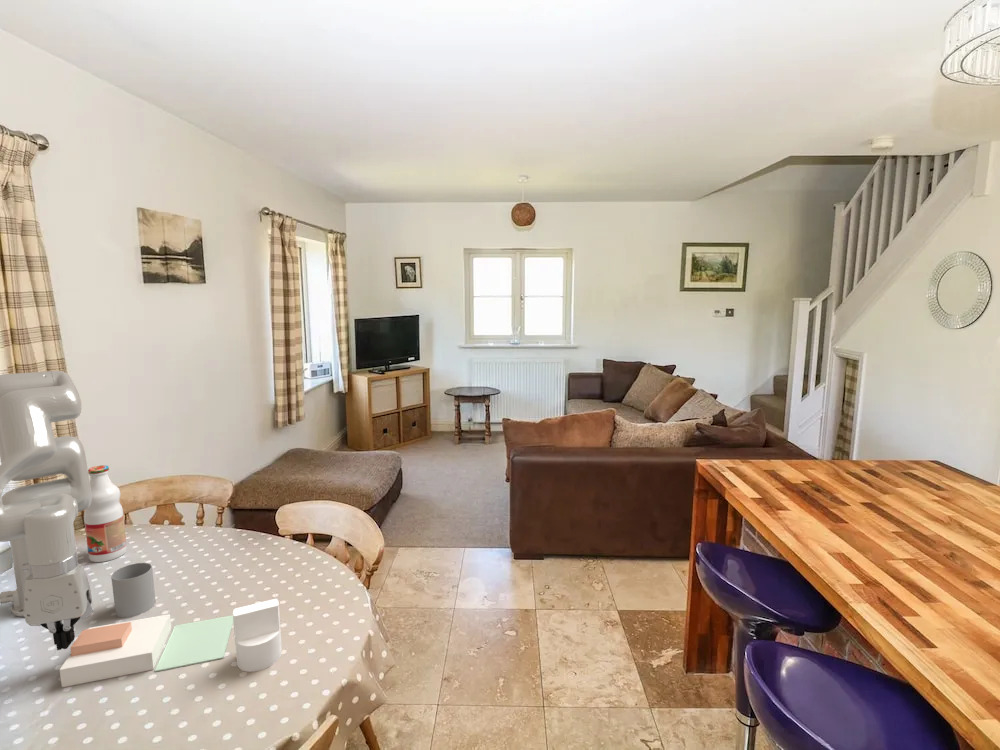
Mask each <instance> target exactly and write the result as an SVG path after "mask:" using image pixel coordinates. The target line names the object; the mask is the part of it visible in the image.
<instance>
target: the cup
mask: <svg viewBox="0 0 1000 750" xmlns="http://www.w3.org/2000/svg"><path fill="white" fill-rule="evenodd" d="M110 576H111V577H110V578H111V579H110V580H111V586H112V593H113V594H112V596H113V603H114V612H115V615H116V617H118V618H122V619H124V618H133V617H137V616H139V615H142V614H145V613H147V612H149V611H150V610H151V609H153V608H154V607H155V605H156V602H157V600H156V593H155V581H154V572H153V565H152V564H151V563H149V562H148V563H147V562H135V563H133V564H128V565H125V566H123V567H120V568H119V569H117V570H115V571H113V572H112V574H111V575H110Z"/></svg>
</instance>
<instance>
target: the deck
mask: <svg viewBox="0 0 1000 750" xmlns="http://www.w3.org/2000/svg"><path fill="white" fill-rule="evenodd" d="M171 620H172V619H171V614H169V613H168V614H162V615H157V616H156V615H155V616H152V617H145V618H140V619H134V620H129V621H128V620H127V621H122V622H116V623H115V622H114V623H110V624H104V625H98V626H93V627H88V629H92V628H98V627H104V626H110V625H116V624H122V623H128V622H131V626H132V631H131V633H130V634H129V636H128V638H127V640H126V641H125V643H124V645H123V647H119V648H114V649H108V650H103V651H97V652H92V653H86V654H81V655H76V656H71V653H70V654H69V656H68V657H67V658H66V660H65V661H64V663H63V664H62V665H61V667H60V669H59V676H60V683H61V688H66V687H71V686H76V685H77V686H78V685H81V684H87V683H91V682H95V681H96V682H97V681H100V680H101V681H103V680H106V679H111V678H117V677H122V676H126V675H133V674H137V673H142V672H143V673H144V672H147V671H153V670H155V668H156V666H157V664H158V662H159V659H160V657H161V655H162V653H163V651H164V648H165V646H166V644H167V642H168V639H169V637H170V635H171V633H172V631H173V628H172V621H171Z"/></svg>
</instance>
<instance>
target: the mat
mask: <svg viewBox="0 0 1000 750" xmlns="http://www.w3.org/2000/svg"><path fill="white" fill-rule="evenodd" d="M233 626H234V620H233V614H231V615H227V616H222V617H221V616H220V617H216V618H210V619H204V620H198V621H194V622H193V621H192V622H188V623H181V624H176V625H174V627H173V628H172V630H171V632H170V634H169V637H168V639H167V641H166V643H165V646H164V648H163V650H162V652H161V655H160V657H159V659H158V661H157V663H156V666H155V668H154V673H156V672H163V671H168V670H172V669H177V668H182V667H186V666H187V667H188V666H192V665H197V664H202V663H207V662H212V661H217V660H222V659H224V658H225V655H226V654H225V653H226V651H227V647H228V642H229V639H230V635H231V631H232V629H233Z"/></svg>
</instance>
